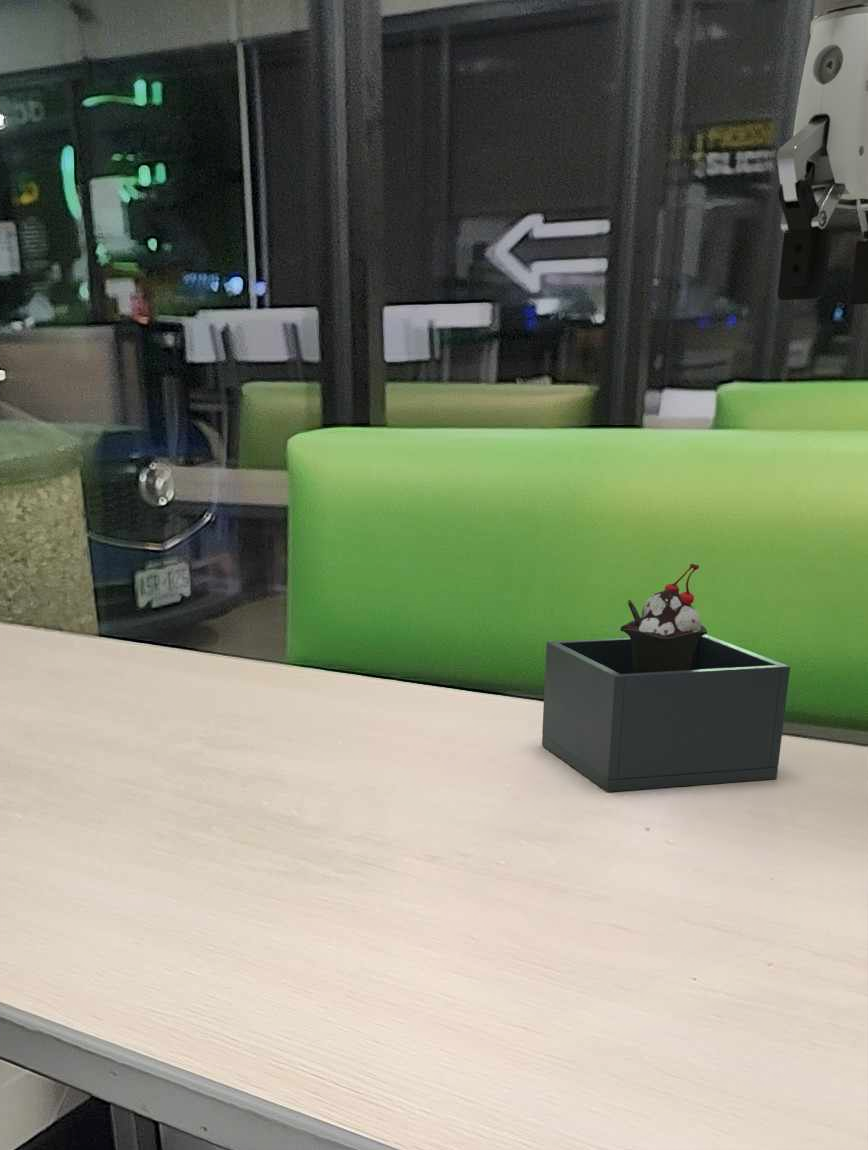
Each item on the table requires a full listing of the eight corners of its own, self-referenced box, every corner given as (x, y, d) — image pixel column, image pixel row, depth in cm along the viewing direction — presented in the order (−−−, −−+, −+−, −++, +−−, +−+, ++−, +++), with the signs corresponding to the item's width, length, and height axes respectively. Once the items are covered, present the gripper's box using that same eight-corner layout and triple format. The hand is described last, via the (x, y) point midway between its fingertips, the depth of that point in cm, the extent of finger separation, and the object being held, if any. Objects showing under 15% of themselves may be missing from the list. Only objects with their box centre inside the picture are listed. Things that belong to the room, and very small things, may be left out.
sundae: (712, 752, 110) (732, 565, 104) (654, 764, 107) (670, 572, 100) (655, 735, 115) (670, 556, 109) (598, 747, 112) (610, 562, 105)
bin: (694, 734, 119) (704, 633, 116) (776, 779, 106) (790, 666, 103) (541, 745, 116) (546, 641, 112) (607, 792, 103) (615, 676, 99)
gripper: (862, -36, 77) (823, 295, 84) (990, 14, 88) (946, 303, 95) (748, -11, 82) (720, 299, 89) (883, 34, 93) (848, 307, 100)
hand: (837, 301), depth 92 cm, fingers open, 9 cm apart
